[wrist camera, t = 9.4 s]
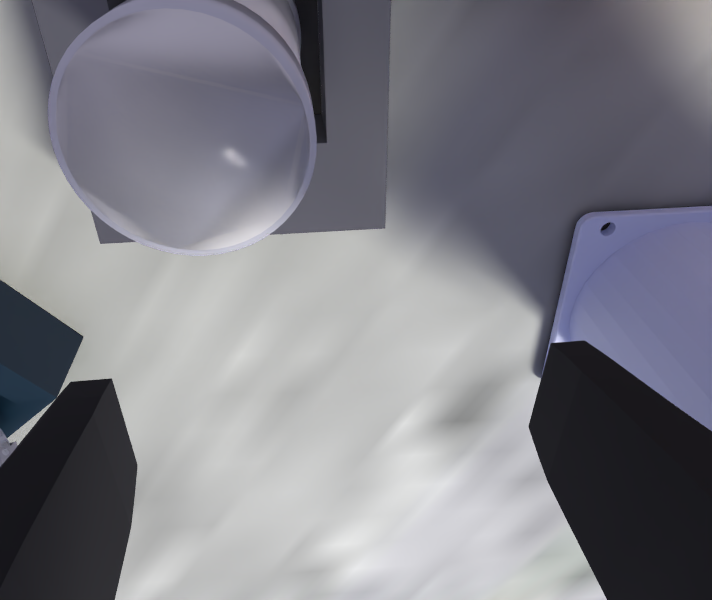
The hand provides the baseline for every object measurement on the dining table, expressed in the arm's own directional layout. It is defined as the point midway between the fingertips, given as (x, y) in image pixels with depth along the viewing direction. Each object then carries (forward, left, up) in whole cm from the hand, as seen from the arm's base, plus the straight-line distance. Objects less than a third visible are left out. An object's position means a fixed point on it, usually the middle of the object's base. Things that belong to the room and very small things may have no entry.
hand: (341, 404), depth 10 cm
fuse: (+2, -4, -10) cm, 11 cm away
